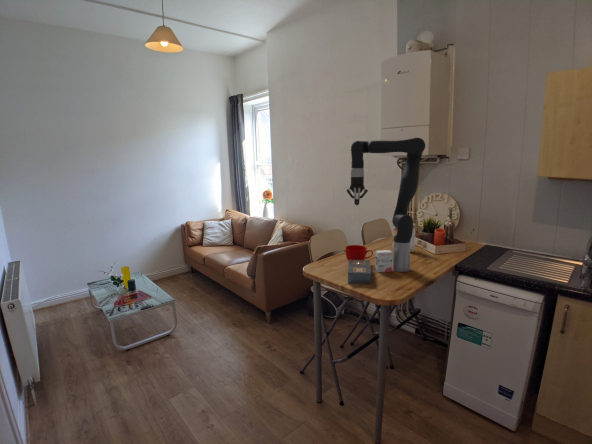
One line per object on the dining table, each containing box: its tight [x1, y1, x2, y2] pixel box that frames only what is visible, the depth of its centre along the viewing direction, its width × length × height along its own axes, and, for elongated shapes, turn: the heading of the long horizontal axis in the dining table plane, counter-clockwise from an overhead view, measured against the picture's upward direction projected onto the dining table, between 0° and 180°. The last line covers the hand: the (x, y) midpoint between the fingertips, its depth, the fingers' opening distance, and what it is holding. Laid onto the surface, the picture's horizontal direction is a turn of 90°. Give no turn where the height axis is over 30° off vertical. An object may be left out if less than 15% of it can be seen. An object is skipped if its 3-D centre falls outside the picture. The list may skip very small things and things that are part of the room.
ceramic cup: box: [344, 244, 374, 262], centre depth 203 cm, size 13×17×10 cm
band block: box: [347, 259, 372, 285], centre depth 183 cm, size 22×12×6 cm, turn 170°
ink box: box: [374, 249, 393, 273], centre depth 190 cm, size 8×5×12 cm, turn 96°
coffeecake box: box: [391, 223, 416, 253], centre depth 230 cm, size 15×7×20 cm, turn 25°
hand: (356, 205), depth 195 cm, fingers closed
